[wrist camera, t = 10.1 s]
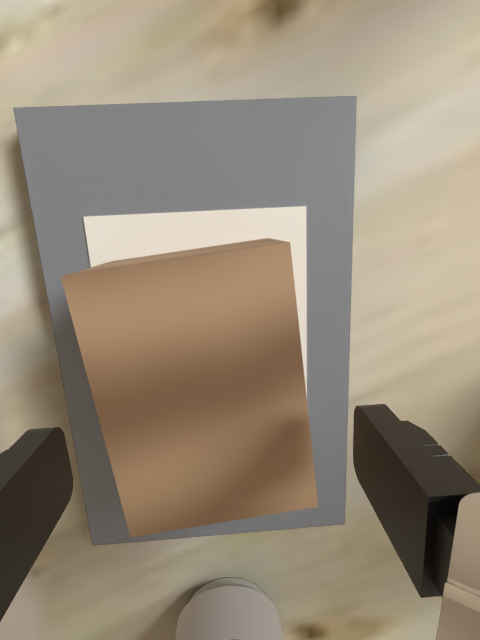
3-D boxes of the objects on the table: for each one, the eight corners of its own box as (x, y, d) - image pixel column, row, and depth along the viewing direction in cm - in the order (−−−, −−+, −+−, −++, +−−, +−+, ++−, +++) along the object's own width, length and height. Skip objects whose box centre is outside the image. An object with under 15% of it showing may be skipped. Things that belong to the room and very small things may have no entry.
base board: (335, 503, 20) (345, 525, 19) (101, 522, 20) (91, 547, 18) (343, 108, 16) (357, 95, 14) (33, 119, 15) (11, 106, 13)
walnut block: (290, 429, 17) (318, 506, 12) (155, 450, 17) (130, 537, 12) (267, 237, 15) (290, 242, 10) (111, 261, 15) (60, 276, 10)
